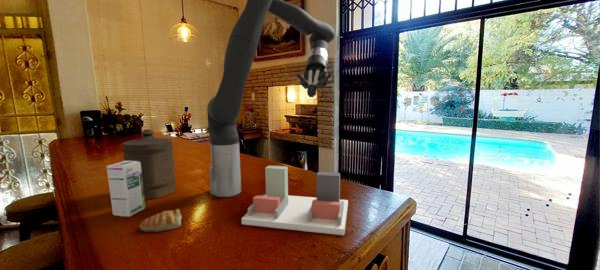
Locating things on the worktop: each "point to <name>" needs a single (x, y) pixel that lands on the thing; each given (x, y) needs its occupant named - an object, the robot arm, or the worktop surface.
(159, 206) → the worktop surface
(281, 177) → the pale green tall block
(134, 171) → the syrup box
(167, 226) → the pastry
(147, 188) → the grey canister
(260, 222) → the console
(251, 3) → the robot arm
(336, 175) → the grey upright block
